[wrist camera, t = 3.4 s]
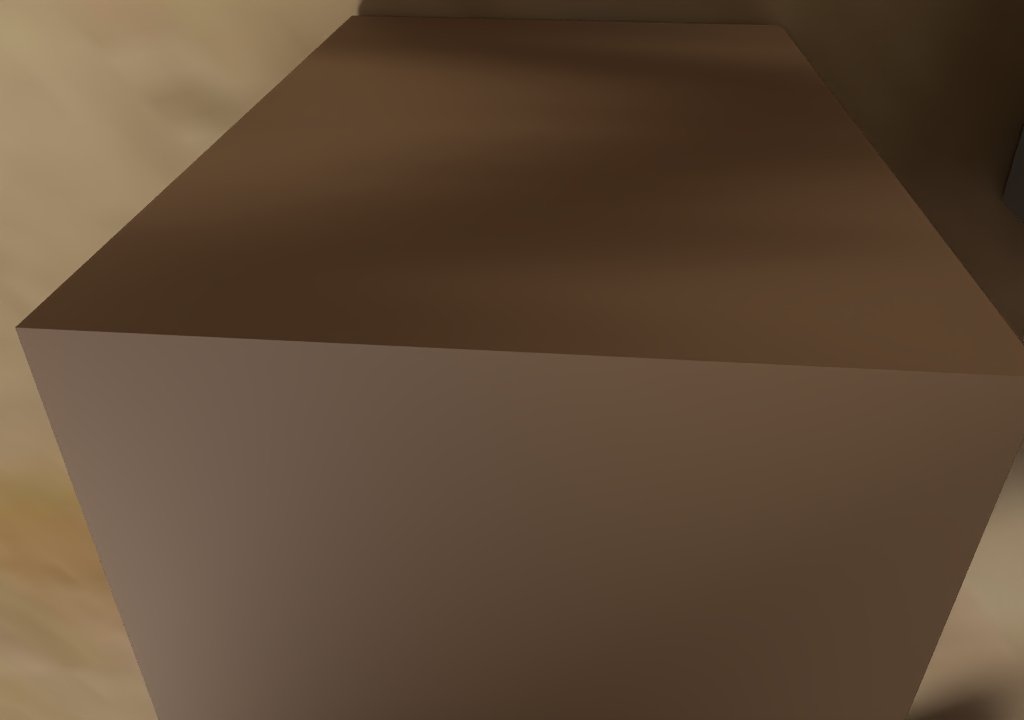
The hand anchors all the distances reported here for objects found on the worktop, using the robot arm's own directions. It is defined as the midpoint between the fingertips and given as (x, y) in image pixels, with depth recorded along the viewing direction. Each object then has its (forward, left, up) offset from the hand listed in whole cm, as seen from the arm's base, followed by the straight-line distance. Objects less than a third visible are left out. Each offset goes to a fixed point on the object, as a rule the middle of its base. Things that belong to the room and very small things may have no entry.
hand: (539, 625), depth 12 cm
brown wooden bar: (0, 0, -1) cm, 1 cm away
